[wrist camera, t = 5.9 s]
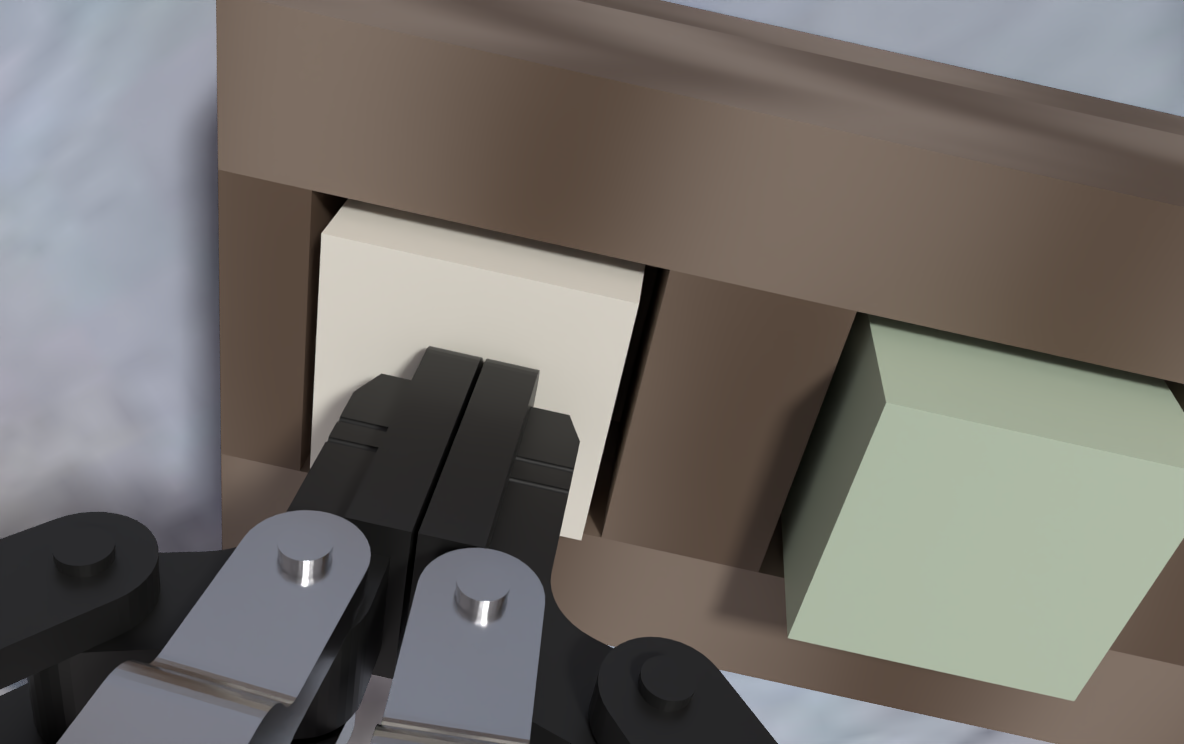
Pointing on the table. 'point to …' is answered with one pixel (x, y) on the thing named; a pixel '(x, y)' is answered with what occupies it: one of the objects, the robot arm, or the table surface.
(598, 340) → the cream button
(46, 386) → the table surface
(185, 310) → the table surface
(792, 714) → the table surface
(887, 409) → the sage button
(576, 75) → the button board
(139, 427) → the table surface
